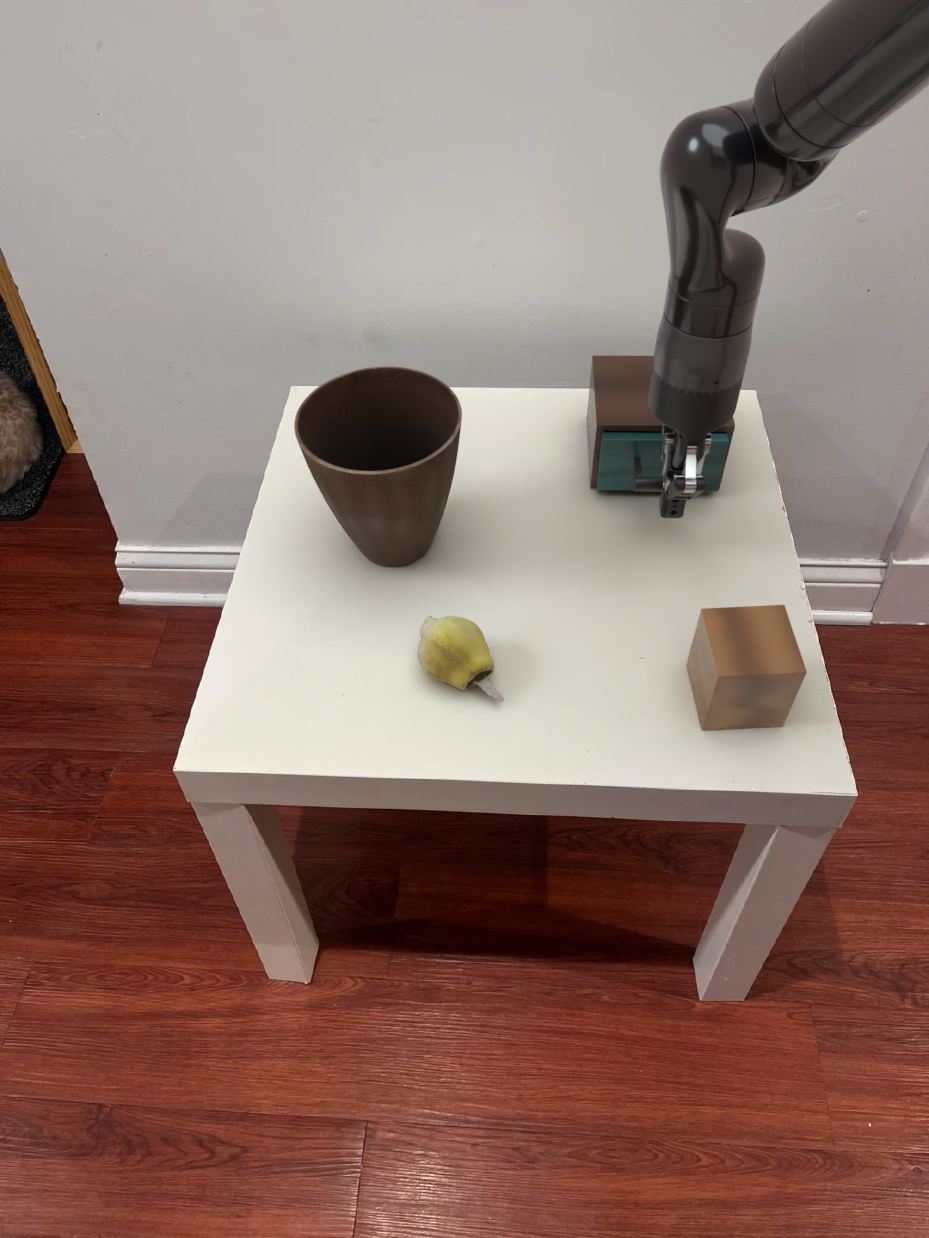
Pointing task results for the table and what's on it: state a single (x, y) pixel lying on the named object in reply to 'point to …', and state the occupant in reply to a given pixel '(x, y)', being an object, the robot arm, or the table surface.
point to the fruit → (456, 653)
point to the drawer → (648, 461)
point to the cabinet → (624, 404)
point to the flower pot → (383, 456)
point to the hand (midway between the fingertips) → (670, 512)
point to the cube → (744, 667)
